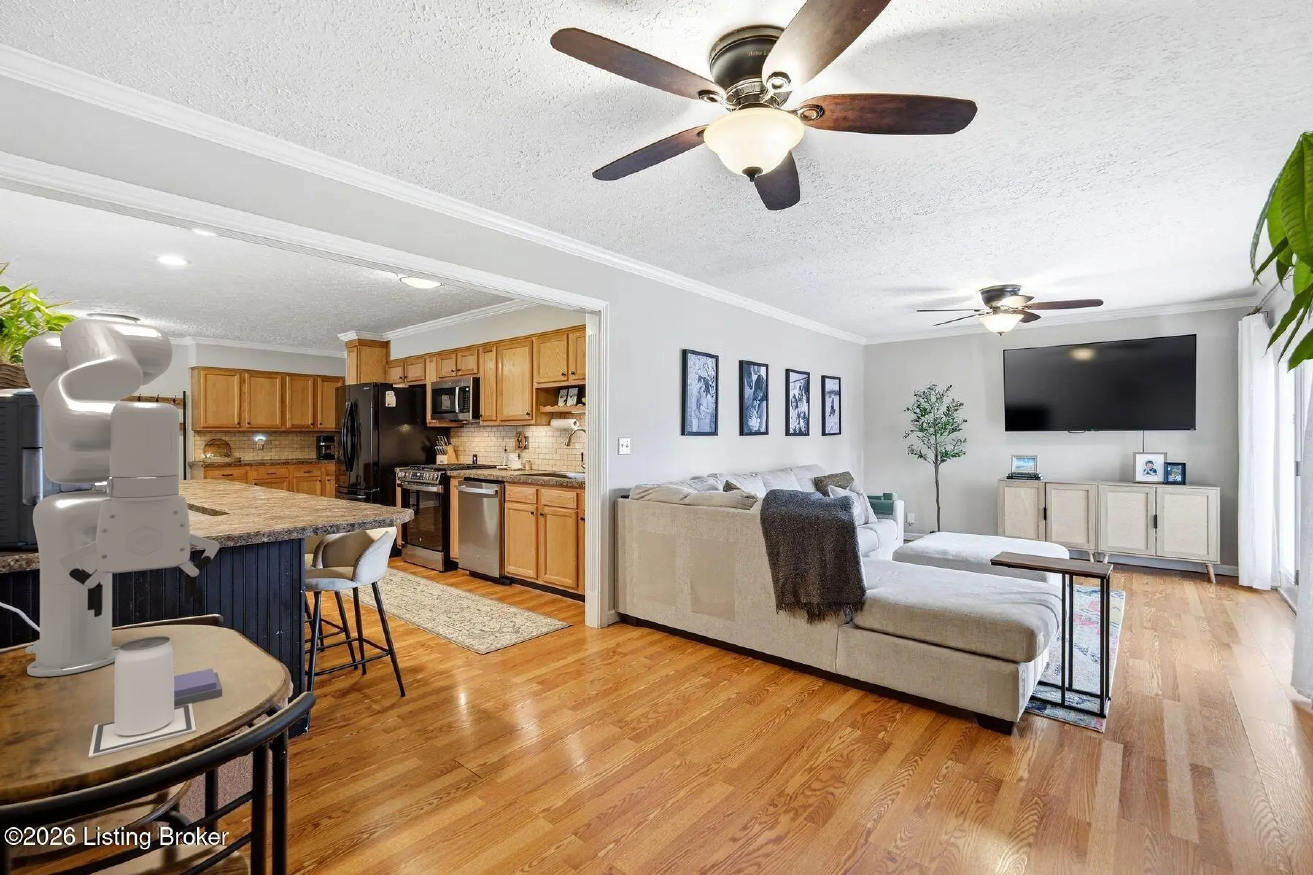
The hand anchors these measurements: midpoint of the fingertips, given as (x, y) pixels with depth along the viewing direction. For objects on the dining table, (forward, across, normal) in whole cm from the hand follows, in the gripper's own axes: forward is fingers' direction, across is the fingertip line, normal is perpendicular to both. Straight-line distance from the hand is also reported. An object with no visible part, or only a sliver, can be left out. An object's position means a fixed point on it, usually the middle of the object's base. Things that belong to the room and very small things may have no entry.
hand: (144, 608), depth 85 cm
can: (+17, 0, 0) cm, 17 cm away
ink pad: (+17, +5, +10) cm, 21 cm away
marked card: (+17, 0, -1) cm, 17 cm away
